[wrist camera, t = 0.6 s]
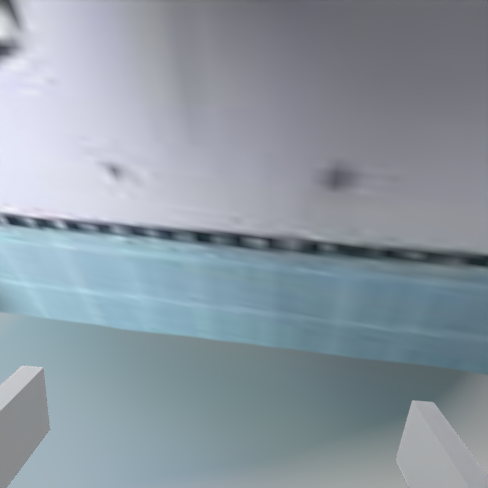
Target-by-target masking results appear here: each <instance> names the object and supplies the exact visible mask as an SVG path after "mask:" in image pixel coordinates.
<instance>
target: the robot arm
mask: <svg viewBox="0 0 488 488" xmlns="http://www.w3.org/2000/svg"><path fill="white" fill-rule="evenodd" d="M44 378H45V377H44V369H43V367H32V366H21V367H20V368H19V369H18V370H17V371H15V372H14V374H12V375H11V376H10V377H9V378H8V379H7V380H6V381H4V382H3V383H2V384H1V385H0V488H7V487H8V485H9V484H10V483H11V481H12V480H13V479H14V477H15V476H16V475H17V473H18V472H19V470H20V469H21V468H22V467H23V465H24V464H25V462H26V461H27V460H28V458H29V457H30V456H31V454H32V453H33V452H34V450H35V449H36V448H37V446H38V445H39V444H40V442H41V441H42V440H43V438H44V437H45V435H46V434H47V433H48V431H49V430H50V425H49V416H48V407H47V397H46V388H45V379H44ZM395 461H396V463H397V465H398V467H399V469H400V471H401V473H402V475H403V477H404V480H405V482H406V484H407V486H408V488H488V475H487V474H486V472H485V471H484V470H483V468H482V467H481V465H480V464H479V463H478V461H477V460H476V459H475V458H474V456H473V455H472V454H471V452H470V451H469V449H468V448H467V447H466V445H465V444H464V443H463V441H462V440H461V438H460V437H459V436H458V434H457V433H456V432H455V430H454V429H453V428H452V426H451V425H450V424H449V422H448V421H447V420H446V418H445V417H444V416H443V414H442V413H441V411H440V410H439V409H438V407H437V406H436V405H435V403H434V402H425V401H414V400H412V403H411V406H410V410H409V413H408V417H407V420H406V424H405V428H404V431H403V435H402V438H401V442H400V445H399V449H398V453H397V456H396V460H395Z"/></svg>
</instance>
